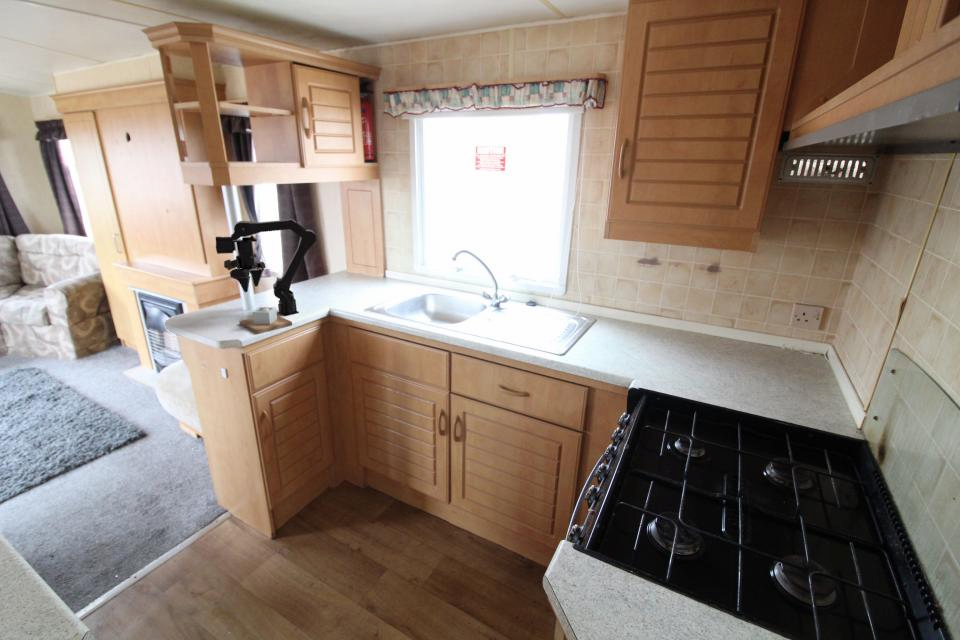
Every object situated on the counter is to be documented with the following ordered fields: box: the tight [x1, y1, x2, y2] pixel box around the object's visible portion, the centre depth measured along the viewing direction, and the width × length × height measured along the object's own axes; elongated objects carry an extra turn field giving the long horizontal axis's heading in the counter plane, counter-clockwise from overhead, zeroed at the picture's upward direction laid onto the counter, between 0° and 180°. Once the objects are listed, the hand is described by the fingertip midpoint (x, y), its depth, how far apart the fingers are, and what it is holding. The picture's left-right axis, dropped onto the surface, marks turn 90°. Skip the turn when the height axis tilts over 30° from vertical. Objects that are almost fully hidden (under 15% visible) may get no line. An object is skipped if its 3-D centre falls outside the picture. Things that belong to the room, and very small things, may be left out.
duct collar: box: [251, 306, 278, 324], centre depth 184 cm, size 7×7×5 cm
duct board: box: [238, 308, 293, 335], centre depth 184 cm, size 14×16×6 cm
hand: (251, 289), depth 191 cm, fingers open, 9 cm apart
